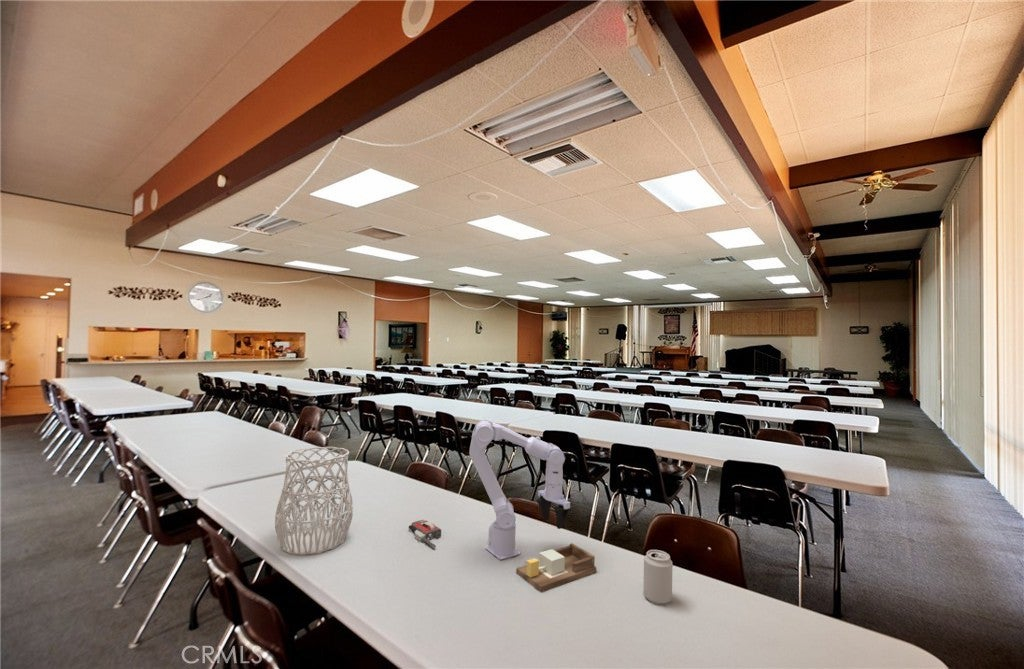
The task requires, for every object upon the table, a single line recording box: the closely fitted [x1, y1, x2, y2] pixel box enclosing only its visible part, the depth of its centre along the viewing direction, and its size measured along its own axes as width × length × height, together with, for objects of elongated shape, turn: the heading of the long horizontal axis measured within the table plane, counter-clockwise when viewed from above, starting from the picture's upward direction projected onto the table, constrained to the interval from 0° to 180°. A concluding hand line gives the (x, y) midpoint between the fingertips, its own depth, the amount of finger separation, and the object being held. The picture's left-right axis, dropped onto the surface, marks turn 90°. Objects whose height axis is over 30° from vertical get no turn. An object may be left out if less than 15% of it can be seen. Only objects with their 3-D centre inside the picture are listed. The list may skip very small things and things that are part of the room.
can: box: [642, 549, 673, 606], centre depth 120 cm, size 8×8×12 cm
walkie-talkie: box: [408, 519, 442, 548], centre depth 154 cm, size 9×4×20 cm
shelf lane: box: [515, 542, 597, 593], centre depth 132 cm, size 12×22×4 cm, turn 124°
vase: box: [274, 446, 354, 556], centre depth 149 cm, size 24×24×30 cm
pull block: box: [526, 548, 565, 577], centre depth 129 cm, size 6×11×4 cm, turn 124°
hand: (552, 524), depth 145 cm, fingers open, 7 cm apart
